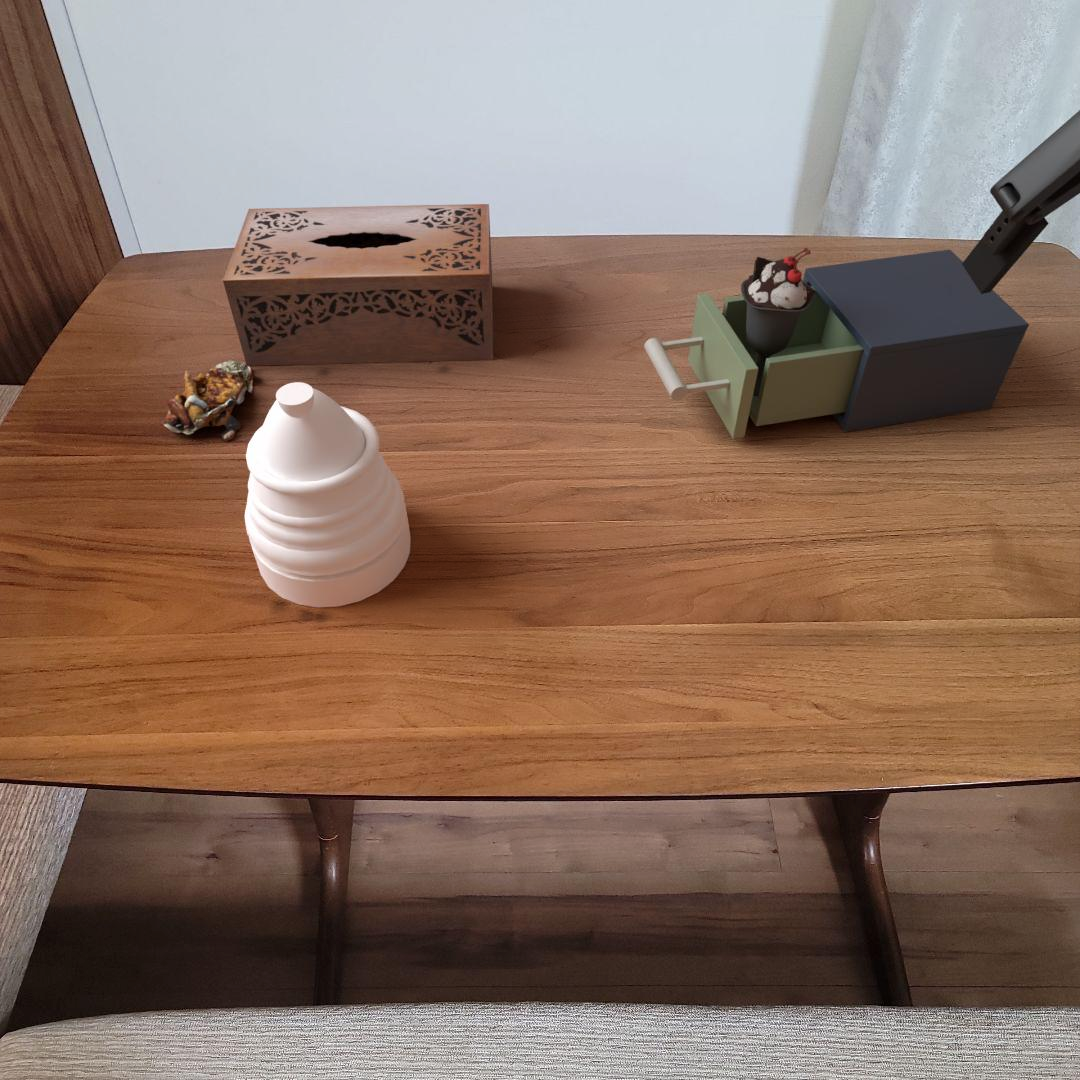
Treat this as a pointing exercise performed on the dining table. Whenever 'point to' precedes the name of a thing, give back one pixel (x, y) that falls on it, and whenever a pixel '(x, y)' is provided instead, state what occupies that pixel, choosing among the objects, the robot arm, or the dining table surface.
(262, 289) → the tissue box cover
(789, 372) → the drawer
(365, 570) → the honey pot
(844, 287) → the cabinet
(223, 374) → the dish of fried food
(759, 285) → the sundae
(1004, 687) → the dining table surface
